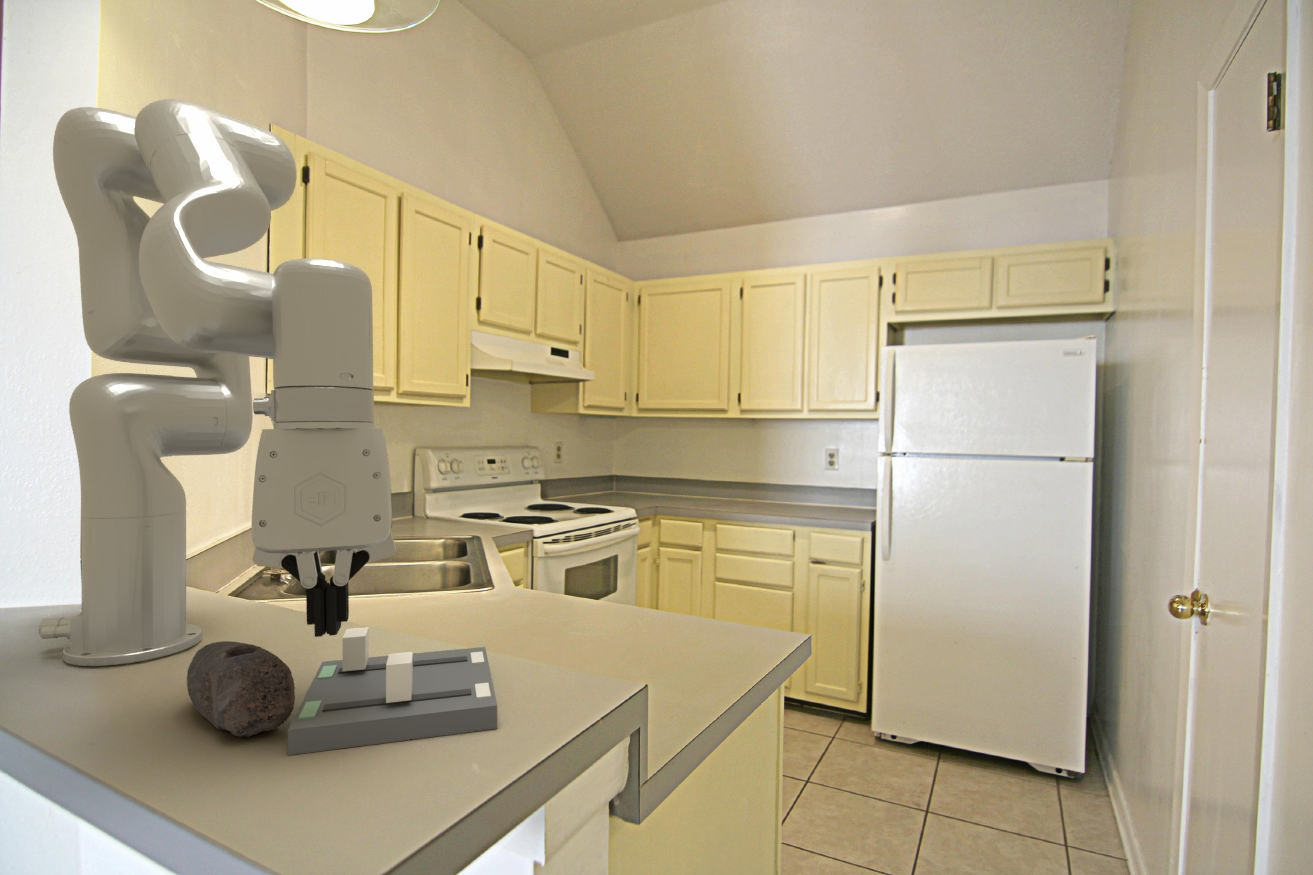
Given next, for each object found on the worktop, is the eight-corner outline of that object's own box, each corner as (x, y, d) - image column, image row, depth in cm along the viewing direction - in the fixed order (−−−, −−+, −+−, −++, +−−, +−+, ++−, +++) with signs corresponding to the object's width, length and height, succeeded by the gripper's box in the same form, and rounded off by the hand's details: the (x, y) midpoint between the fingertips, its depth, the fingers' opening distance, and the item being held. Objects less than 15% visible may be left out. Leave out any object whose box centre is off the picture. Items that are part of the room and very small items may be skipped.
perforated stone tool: (168, 707, 61) (167, 632, 61) (232, 690, 65) (232, 619, 65) (230, 759, 52) (230, 670, 52) (301, 735, 56) (301, 652, 56)
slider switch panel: (287, 755, 52) (288, 728, 52) (322, 681, 68) (322, 660, 68) (497, 728, 57) (497, 703, 57) (485, 665, 72) (485, 645, 72)
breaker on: (342, 671, 64) (342, 637, 63) (346, 660, 66) (346, 628, 66) (365, 669, 64) (365, 636, 64) (368, 658, 67) (368, 627, 67)
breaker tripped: (386, 702, 56) (386, 665, 56) (388, 689, 59) (388, 653, 59) (411, 700, 57) (411, 662, 57) (412, 687, 60) (412, 651, 60)
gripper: (206, 410, 50) (210, 655, 50) (418, 410, 55) (421, 634, 55) (236, 414, 57) (238, 629, 57) (421, 414, 62) (424, 612, 62)
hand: (328, 631), depth 56 cm, fingers closed
